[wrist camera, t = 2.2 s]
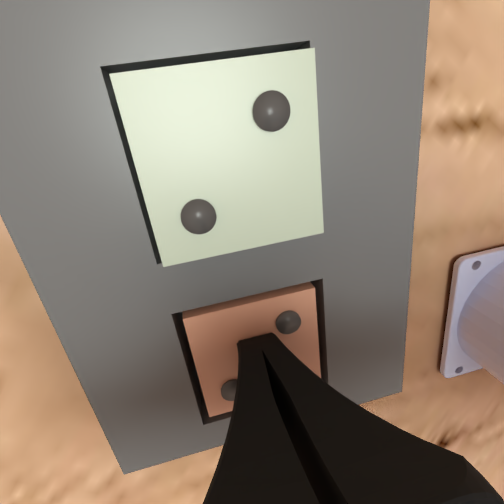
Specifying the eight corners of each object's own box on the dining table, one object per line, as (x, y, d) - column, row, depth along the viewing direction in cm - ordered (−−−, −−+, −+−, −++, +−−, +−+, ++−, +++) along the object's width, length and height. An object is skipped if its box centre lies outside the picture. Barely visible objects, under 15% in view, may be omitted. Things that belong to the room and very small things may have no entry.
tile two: (290, 60, 9) (317, 46, 7) (301, 215, 11) (326, 234, 9) (122, 82, 8) (108, 72, 7) (165, 243, 10) (163, 269, 9)
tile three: (297, 266, 13) (316, 289, 11) (305, 355, 15) (323, 388, 13) (181, 292, 12) (182, 322, 10) (205, 382, 14) (209, 420, 12)
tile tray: (362, -319, 8) (471, -578, 5) (361, 341, 17) (401, 391, 14) (-162, -342, 7) (-455, -741, 4) (134, 403, 16) (124, 474, 13)
